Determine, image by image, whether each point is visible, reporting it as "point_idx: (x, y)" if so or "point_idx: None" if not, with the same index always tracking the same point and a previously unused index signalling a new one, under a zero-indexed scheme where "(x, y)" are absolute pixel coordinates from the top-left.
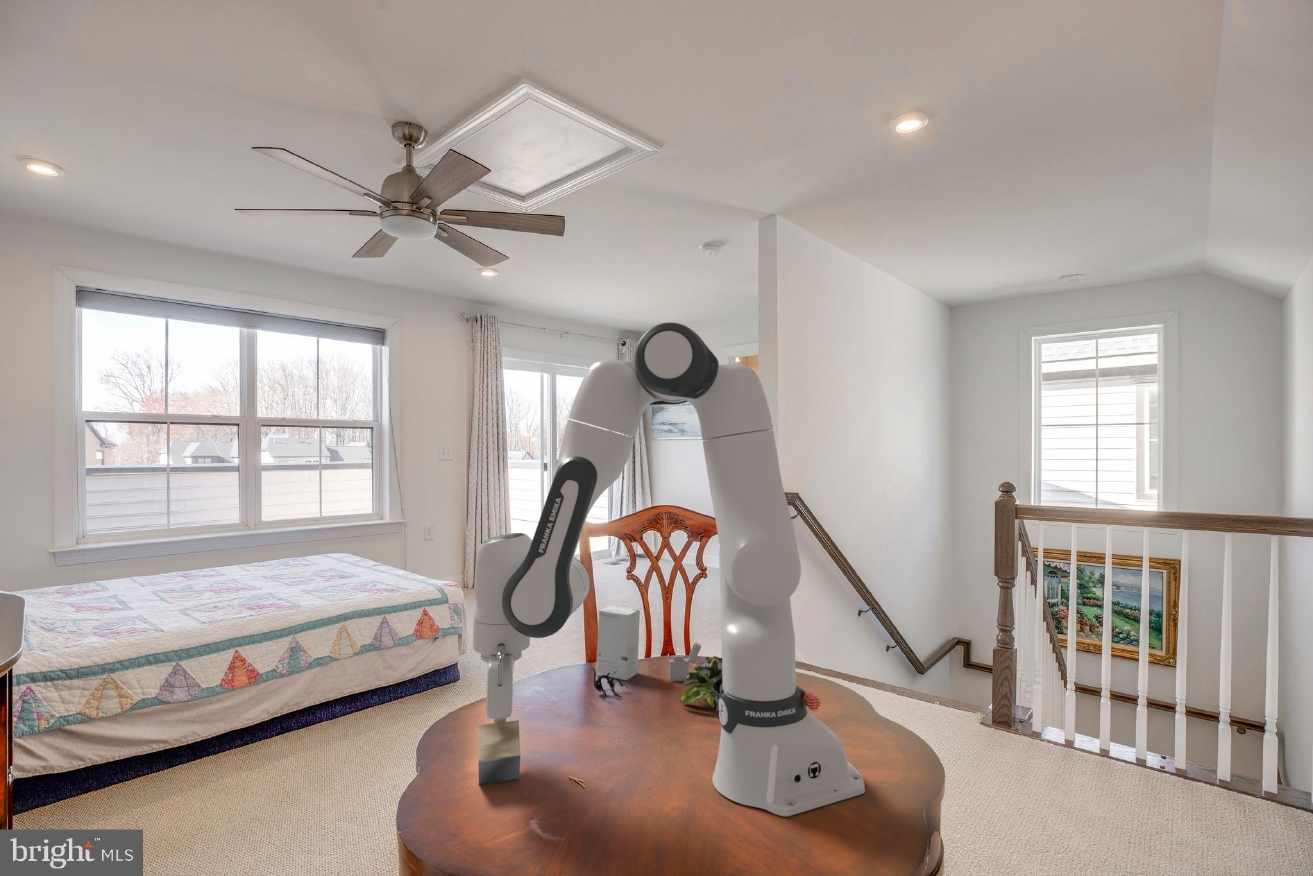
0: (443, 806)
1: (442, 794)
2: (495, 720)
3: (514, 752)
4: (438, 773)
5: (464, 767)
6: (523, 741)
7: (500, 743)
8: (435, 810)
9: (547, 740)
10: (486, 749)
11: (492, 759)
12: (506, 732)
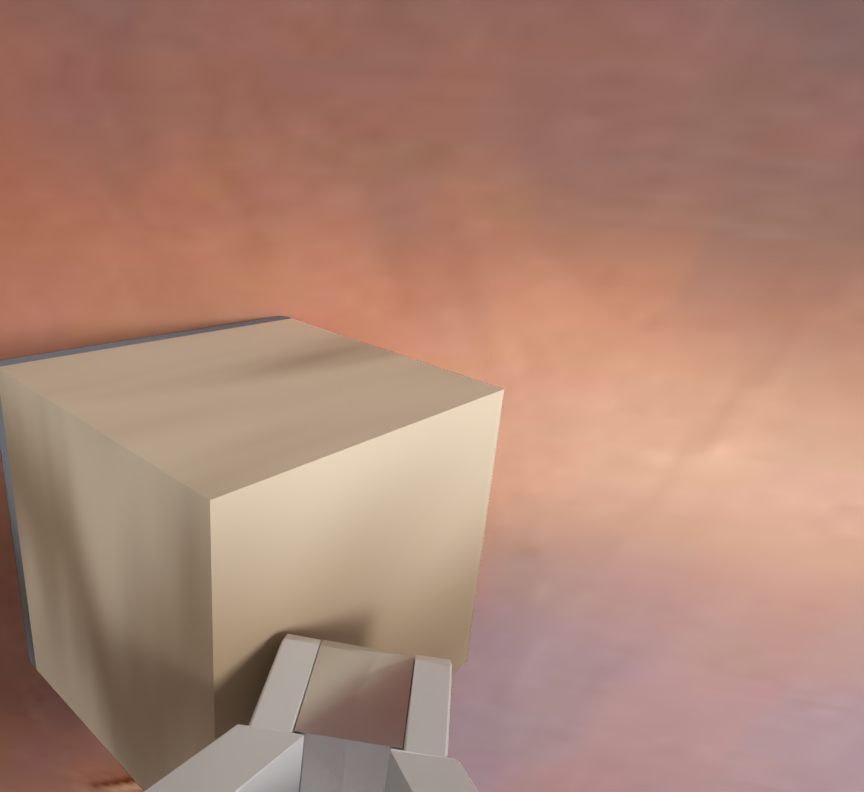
0: (47, 62)
1: (212, 59)
2: (262, 692)
3: (43, 648)
4: (555, 35)
5: (568, 243)
6: (772, 647)
7: (85, 598)
8: (4, 2)
9: (705, 761)
10: (51, 465)
11: (11, 477)
12: (138, 702)
